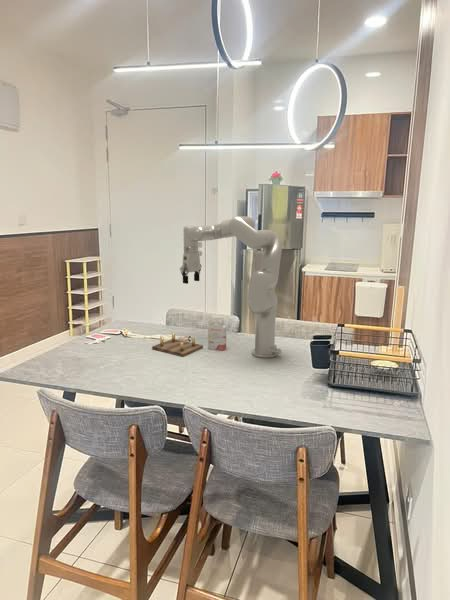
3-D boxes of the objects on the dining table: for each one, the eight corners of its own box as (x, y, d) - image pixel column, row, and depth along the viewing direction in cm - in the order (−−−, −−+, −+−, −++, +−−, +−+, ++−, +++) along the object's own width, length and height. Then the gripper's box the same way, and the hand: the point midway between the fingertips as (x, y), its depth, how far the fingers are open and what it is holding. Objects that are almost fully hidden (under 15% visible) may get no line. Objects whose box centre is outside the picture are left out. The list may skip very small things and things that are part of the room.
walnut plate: (203, 348, 216) (203, 345, 216) (183, 356, 203) (183, 353, 203) (172, 341, 227) (172, 338, 227) (152, 349, 214) (152, 346, 214)
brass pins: (195, 345, 215) (195, 338, 215) (182, 351, 207) (182, 343, 206) (173, 340, 223) (173, 333, 222) (159, 346, 215) (159, 338, 214)
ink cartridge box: (226, 347, 218) (226, 319, 215) (223, 350, 213) (224, 322, 210) (210, 346, 220) (210, 318, 217) (207, 348, 215) (207, 320, 212)
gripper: (186, 251, 214) (186, 285, 217) (206, 249, 228) (206, 280, 231) (174, 250, 218) (175, 283, 221) (195, 248, 232) (195, 279, 235)
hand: (191, 282), depth 226 cm, fingers open, 9 cm apart
